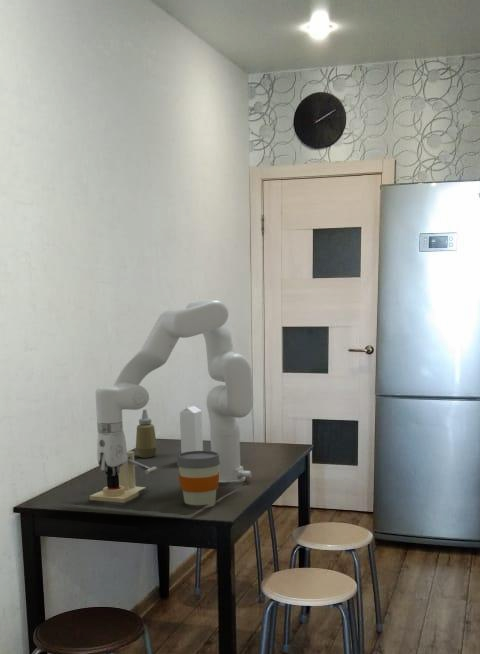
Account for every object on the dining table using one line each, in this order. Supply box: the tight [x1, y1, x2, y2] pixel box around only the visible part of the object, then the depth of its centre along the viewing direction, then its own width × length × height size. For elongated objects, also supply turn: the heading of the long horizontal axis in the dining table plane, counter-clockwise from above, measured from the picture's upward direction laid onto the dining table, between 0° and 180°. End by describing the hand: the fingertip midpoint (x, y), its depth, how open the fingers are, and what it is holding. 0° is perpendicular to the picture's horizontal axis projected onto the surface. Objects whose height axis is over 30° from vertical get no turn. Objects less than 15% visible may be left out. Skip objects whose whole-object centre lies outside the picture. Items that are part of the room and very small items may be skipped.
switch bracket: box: [118, 450, 147, 492], centre depth 267 cm, size 10×8×13 cm
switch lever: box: [127, 455, 158, 475], centre depth 265 cm, size 12×5×2 cm, turn 67°
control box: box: [89, 486, 140, 504], centre depth 258 cm, size 12×9×4 cm
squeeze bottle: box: [135, 409, 158, 459], centre depth 322 cm, size 8×8×18 cm
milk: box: [179, 401, 204, 454], centre depth 309 cm, size 6×6×22 cm
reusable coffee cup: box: [176, 450, 220, 509], centre depth 250 cm, size 13×13×15 cm
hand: (113, 487), depth 258 cm, fingers closed
